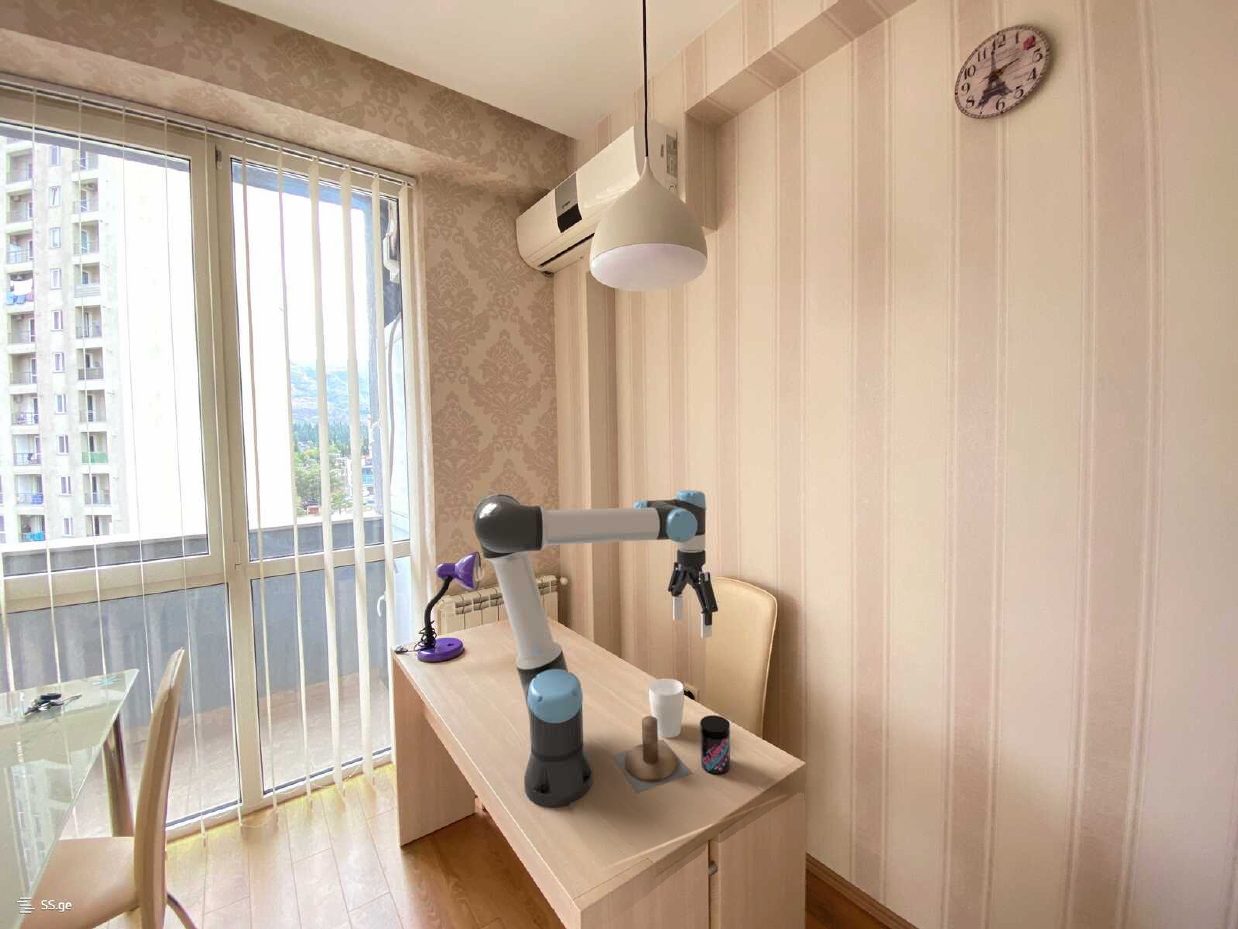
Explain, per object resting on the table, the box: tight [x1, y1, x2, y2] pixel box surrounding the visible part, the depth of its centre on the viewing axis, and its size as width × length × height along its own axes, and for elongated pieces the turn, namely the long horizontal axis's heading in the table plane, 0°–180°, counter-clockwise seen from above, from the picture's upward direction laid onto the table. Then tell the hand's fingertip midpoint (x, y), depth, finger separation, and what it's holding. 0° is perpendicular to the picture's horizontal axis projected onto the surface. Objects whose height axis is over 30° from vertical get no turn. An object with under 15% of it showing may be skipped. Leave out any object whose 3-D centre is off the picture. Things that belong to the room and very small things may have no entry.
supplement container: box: [699, 714, 731, 776], centre depth 116 cm, size 7×7×10 cm
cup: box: [648, 678, 685, 739], centre depth 131 cm, size 9×9×12 cm
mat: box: [611, 739, 693, 794], centre depth 118 cm, size 14×14×1 cm
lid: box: [625, 715, 677, 782], centre depth 117 cm, size 12×12×10 cm
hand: (691, 627), depth 135 cm, fingers open, 13 cm apart
